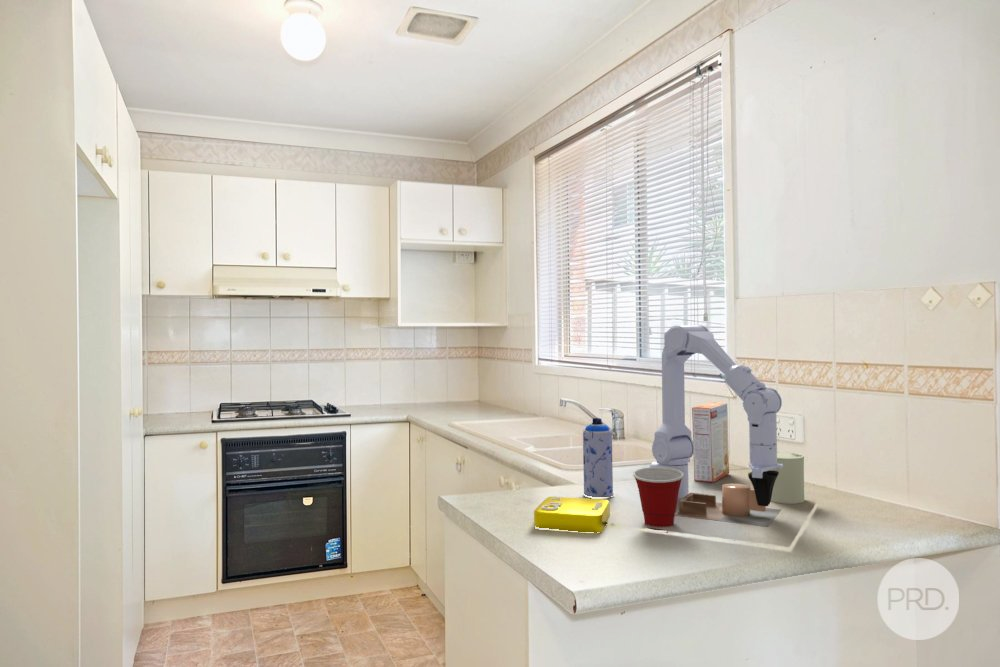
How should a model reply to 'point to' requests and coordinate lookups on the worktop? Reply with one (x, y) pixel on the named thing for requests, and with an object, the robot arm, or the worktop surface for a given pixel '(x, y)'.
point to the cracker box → (710, 441)
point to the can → (789, 479)
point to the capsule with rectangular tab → (739, 500)
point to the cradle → (720, 511)
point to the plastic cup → (658, 494)
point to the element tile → (572, 514)
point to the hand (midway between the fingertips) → (763, 504)
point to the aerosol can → (597, 460)
